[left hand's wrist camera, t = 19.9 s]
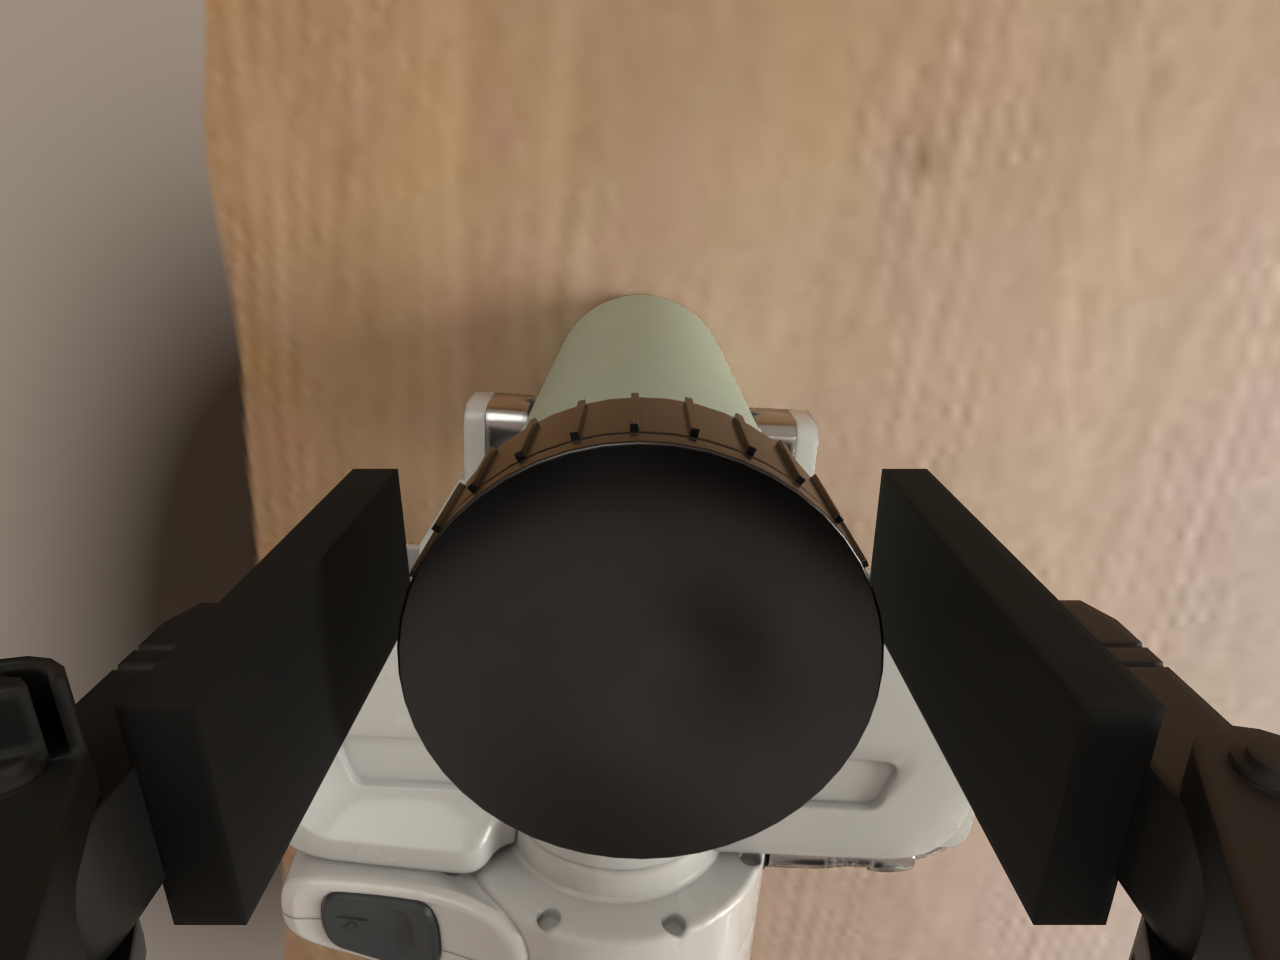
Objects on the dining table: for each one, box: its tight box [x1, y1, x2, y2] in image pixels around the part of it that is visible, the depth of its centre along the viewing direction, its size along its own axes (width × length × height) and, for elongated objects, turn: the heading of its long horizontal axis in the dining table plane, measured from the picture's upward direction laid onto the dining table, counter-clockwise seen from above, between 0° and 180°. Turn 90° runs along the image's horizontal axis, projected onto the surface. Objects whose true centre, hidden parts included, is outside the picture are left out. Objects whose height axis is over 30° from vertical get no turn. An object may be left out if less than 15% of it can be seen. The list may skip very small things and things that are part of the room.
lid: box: [397, 393, 884, 859], centre depth 11 cm, size 6×6×2 cm
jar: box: [521, 295, 759, 431], centre depth 18 cm, size 5×5×15 cm
